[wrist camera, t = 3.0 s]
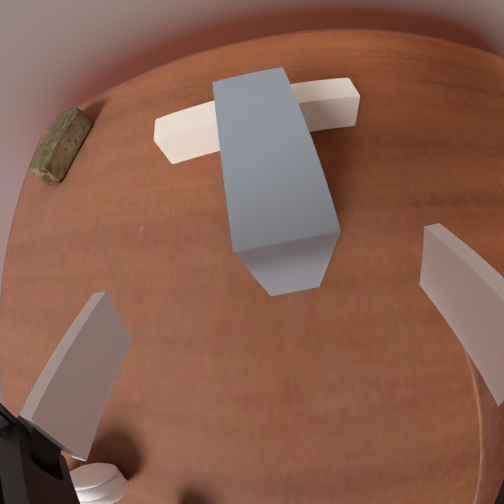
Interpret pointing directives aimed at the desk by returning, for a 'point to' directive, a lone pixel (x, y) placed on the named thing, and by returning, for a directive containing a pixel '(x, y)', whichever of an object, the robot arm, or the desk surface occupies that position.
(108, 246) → the desk surface
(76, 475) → the headphones
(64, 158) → the stone block
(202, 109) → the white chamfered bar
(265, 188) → the blue-grey rectangular block
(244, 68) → the desk surface
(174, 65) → the desk surface
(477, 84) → the desk surface
